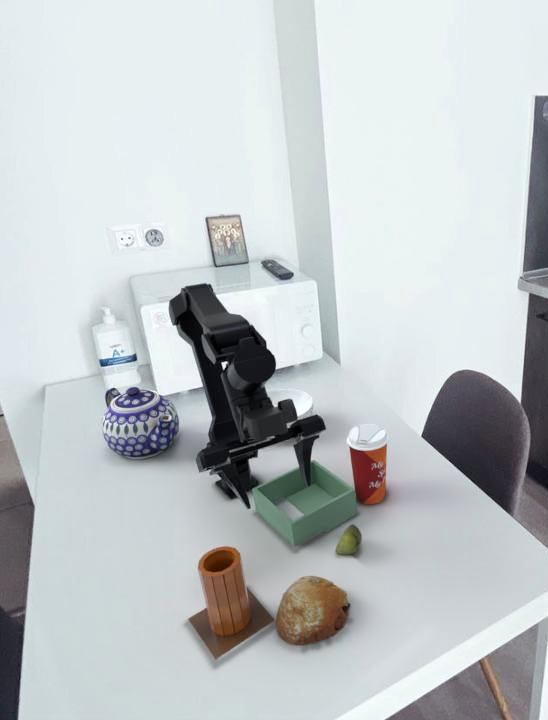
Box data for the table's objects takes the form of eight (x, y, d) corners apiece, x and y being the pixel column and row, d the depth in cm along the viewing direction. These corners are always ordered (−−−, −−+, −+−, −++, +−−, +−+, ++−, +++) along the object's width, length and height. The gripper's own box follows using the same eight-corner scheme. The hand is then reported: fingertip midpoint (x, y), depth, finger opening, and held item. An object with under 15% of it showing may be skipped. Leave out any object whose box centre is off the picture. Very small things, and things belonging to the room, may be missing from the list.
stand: (188, 623, 78) (181, 595, 76) (246, 589, 84) (241, 562, 82) (216, 665, 72) (209, 635, 70) (276, 625, 78) (271, 596, 76)
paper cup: (384, 510, 101) (382, 446, 95) (345, 505, 102) (340, 441, 96) (394, 485, 108) (393, 423, 102) (357, 480, 109) (353, 419, 103)
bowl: (329, 425, 129) (327, 399, 126) (280, 457, 117) (277, 429, 114) (281, 408, 137) (278, 383, 134) (230, 437, 125) (226, 410, 122)
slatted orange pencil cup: (204, 619, 78) (191, 560, 73) (239, 598, 81) (228, 540, 77) (221, 642, 74) (208, 582, 70) (257, 619, 78) (247, 561, 73)
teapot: (86, 443, 123) (68, 384, 117) (150, 416, 134) (136, 361, 128) (143, 484, 109) (126, 419, 103) (209, 450, 120) (197, 390, 114)
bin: (256, 513, 100) (252, 488, 98) (316, 483, 109) (313, 459, 106) (294, 550, 92) (291, 524, 89) (356, 514, 100) (355, 489, 98)
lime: (336, 563, 89) (334, 539, 87) (335, 542, 93) (332, 519, 91) (364, 559, 90) (362, 535, 88) (360, 538, 94) (359, 515, 92)
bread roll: (297, 610, 85) (269, 577, 81) (356, 585, 83) (330, 550, 80) (289, 669, 76) (257, 634, 72) (355, 641, 74) (325, 604, 71)
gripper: (189, 404, 72) (223, 519, 69) (320, 370, 81) (353, 471, 79) (183, 420, 81) (213, 521, 79) (300, 388, 90) (330, 478, 88)
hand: (279, 497), depth 81 cm, fingers open, 9 cm apart
